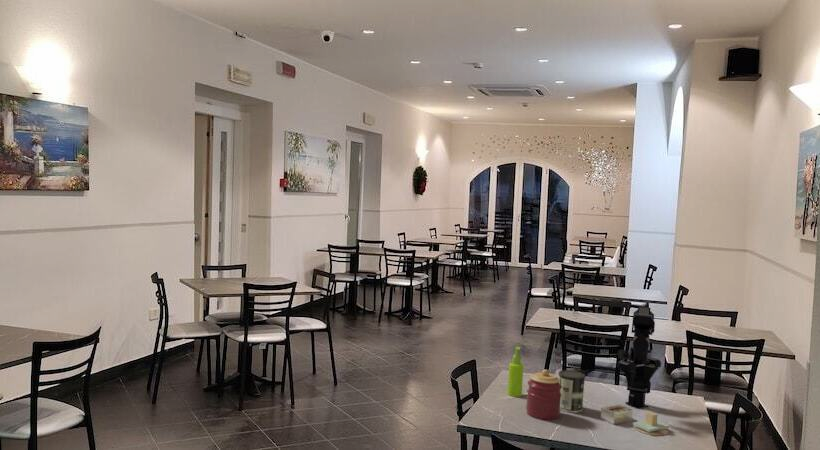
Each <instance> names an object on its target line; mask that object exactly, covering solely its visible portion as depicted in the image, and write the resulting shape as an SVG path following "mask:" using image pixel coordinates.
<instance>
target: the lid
mask: <svg viewBox="0 0 820 450" xmlns="http://www.w3.org/2000/svg"><path fill="white" fill-rule="evenodd" d="M645 413H646V414H645V419H644V420H640V421H634V422H632V426H633V427H634V426H637V427H639V428H641V429H643V430H645V431H648V432H652V431H656V430H661V429H665V428H666V429H669V428H670V424H666V423H664V422H662V421H659V420H658V413H656V412H653V411H648V412H645Z"/></svg>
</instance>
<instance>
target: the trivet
mask: <svg viewBox="0 0 820 450" xmlns="http://www.w3.org/2000/svg"><path fill="white" fill-rule="evenodd" d="M633 429H635V430H636V431H637V432H639V433H643V434H644V435H649V436H654V437H655V436H656V437H657V436H662V437H663V436H666V435H668V434H669V430H668V428H665V429H661V430H656V431H652V432H648V431H645V430H643V429H641V428H639V427H637V426H634V425H633Z"/></svg>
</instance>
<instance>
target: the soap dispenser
mask: <svg viewBox="0 0 820 450" xmlns="http://www.w3.org/2000/svg"><path fill="white" fill-rule="evenodd" d="M521 349H522V346H515V348H514V351H515V354H514V355H512V362H509V363H508V364H509V365H508V366H509V367H508V368H509V369H508V381H507V383H508V384H507V395H508V396H509V397H513V398H519V397H522V393H523V380H524V366H525V364H524V363H522V355H520V350H521Z"/></svg>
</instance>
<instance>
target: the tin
mask: <svg viewBox="0 0 820 450" xmlns="http://www.w3.org/2000/svg"><path fill="white" fill-rule="evenodd" d="M633 412H634V410H633V409H632V408H629V407H627V406H624V405H622V404H613V405H609V406H603V407H601V408H600V420H603V421H605V422H607V423H608V424H611V425H612V426H614V425H620V424H621V425H622V424H625V423H630V422H633Z"/></svg>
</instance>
